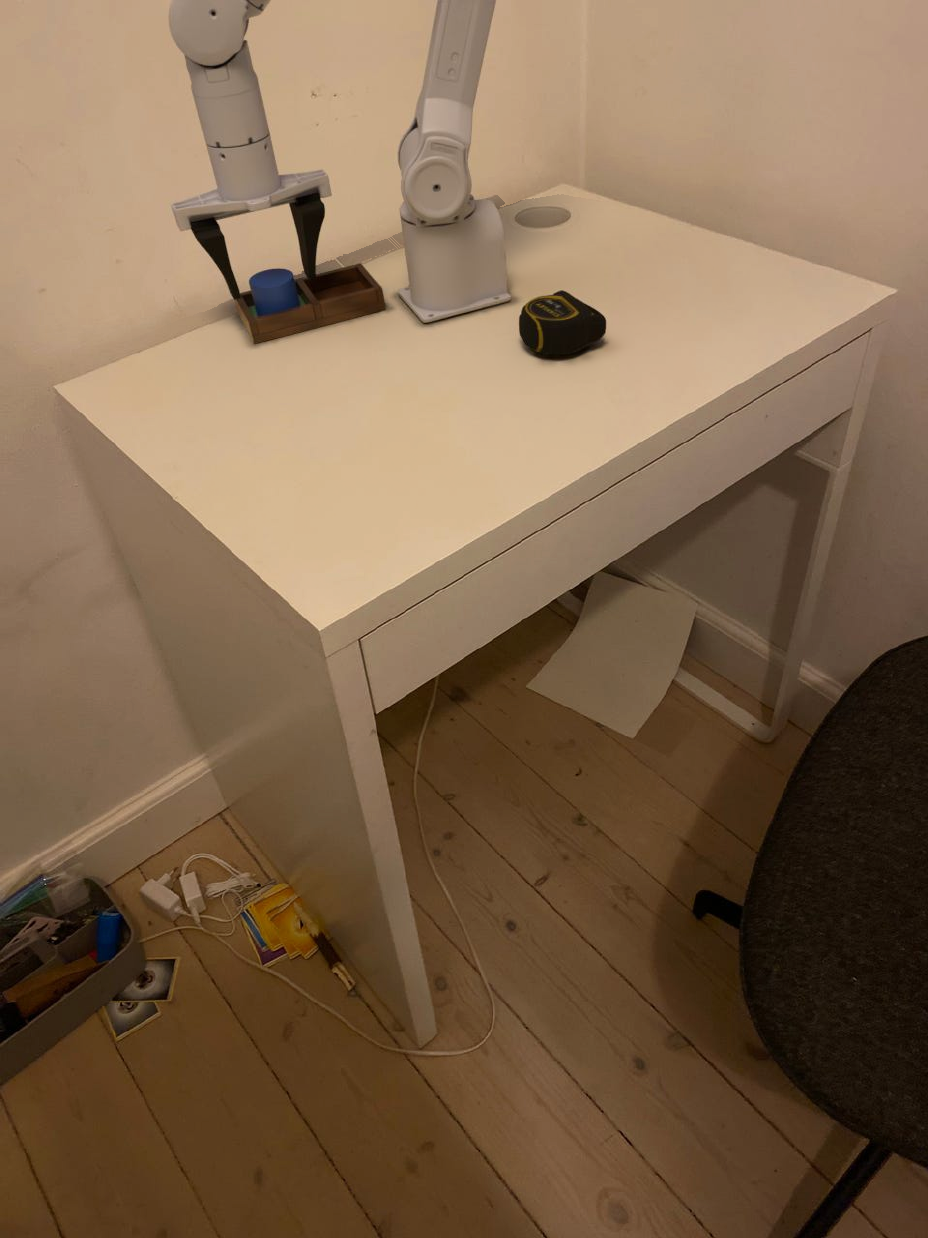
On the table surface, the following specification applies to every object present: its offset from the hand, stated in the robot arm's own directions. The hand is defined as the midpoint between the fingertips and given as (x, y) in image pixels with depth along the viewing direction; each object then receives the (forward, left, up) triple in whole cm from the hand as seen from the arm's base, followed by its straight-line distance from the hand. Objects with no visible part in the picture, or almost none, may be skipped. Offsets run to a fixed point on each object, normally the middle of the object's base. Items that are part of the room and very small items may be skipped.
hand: (273, 285), depth 92 cm
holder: (-3, 0, -4) cm, 5 cm away
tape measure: (-22, +19, -4) cm, 29 cm away
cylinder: (0, 0, -3) cm, 3 cm away
